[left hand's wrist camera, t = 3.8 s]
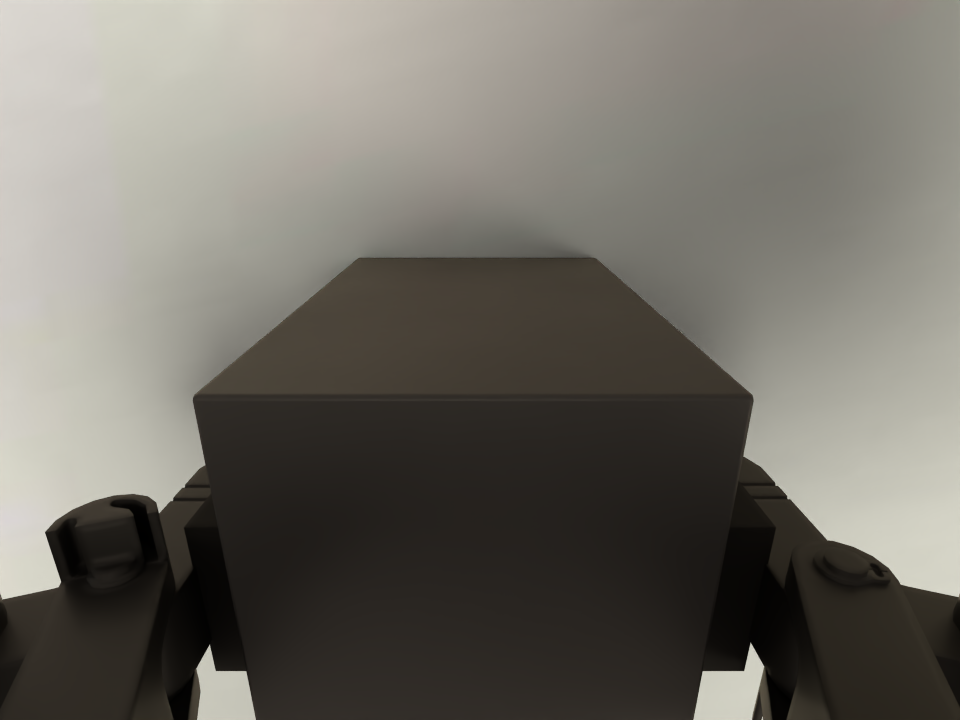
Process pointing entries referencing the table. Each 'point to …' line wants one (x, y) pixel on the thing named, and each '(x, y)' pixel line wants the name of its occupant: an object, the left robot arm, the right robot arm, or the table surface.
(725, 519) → the bar
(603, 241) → the table surface
